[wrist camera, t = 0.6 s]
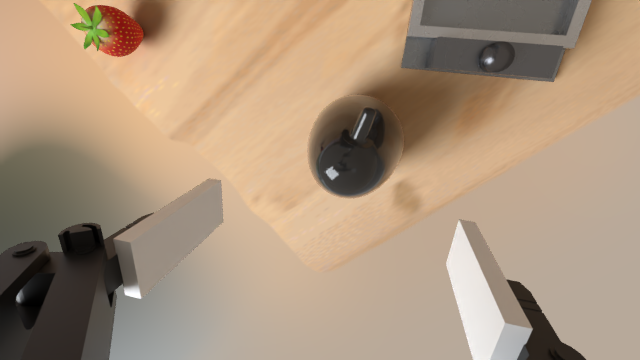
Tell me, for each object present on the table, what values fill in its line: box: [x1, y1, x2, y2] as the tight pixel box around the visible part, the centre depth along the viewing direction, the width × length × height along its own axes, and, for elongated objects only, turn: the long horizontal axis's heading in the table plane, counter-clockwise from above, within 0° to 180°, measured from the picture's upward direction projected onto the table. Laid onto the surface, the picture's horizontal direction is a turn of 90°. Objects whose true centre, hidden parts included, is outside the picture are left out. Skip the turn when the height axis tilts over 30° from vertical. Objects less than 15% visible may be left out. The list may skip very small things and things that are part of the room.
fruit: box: [70, 3, 143, 57], centre depth 35 cm, size 5×5×8 cm
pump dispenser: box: [307, 94, 404, 198], centre depth 30 cm, size 10×10×15 cm
